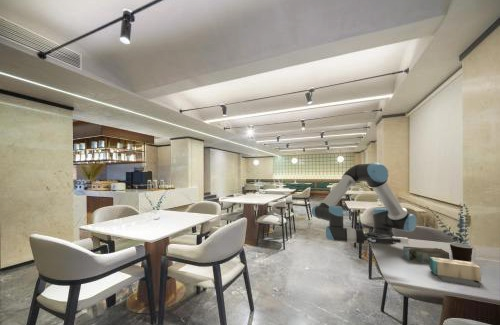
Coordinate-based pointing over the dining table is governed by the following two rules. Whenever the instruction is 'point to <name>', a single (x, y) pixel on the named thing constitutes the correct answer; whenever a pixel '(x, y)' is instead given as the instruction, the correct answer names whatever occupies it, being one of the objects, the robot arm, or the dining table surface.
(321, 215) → the robot arm
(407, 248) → the beverage carton
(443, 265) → the oak block
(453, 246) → the coffee mug
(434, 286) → the dining table surface
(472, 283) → the rubber mat
